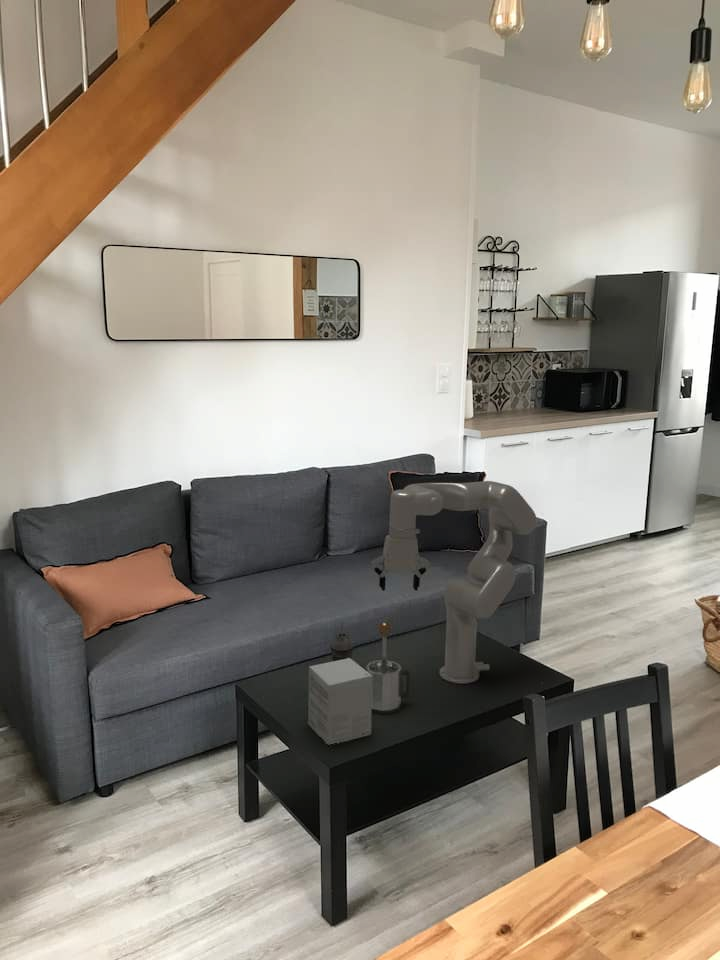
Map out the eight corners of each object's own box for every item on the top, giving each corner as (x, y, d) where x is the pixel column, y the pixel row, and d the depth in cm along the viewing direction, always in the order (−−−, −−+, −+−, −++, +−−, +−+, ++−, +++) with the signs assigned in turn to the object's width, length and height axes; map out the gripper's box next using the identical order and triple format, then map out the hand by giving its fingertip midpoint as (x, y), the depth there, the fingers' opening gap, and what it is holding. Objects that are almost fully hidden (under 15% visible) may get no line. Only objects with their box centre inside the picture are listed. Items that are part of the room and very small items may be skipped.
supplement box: (349, 714, 223) (350, 656, 219) (371, 735, 211) (373, 675, 208) (307, 724, 217) (307, 665, 213) (328, 746, 205) (328, 685, 202)
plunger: (393, 668, 230) (395, 616, 227) (399, 680, 223) (400, 626, 220) (368, 670, 229) (369, 617, 226) (372, 681, 222) (374, 627, 219)
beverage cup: (354, 677, 246) (355, 617, 242) (351, 687, 239) (352, 626, 235) (331, 675, 247) (332, 616, 243) (328, 686, 240) (329, 624, 236)
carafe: (404, 695, 234) (405, 658, 232) (412, 712, 224) (413, 673, 222) (362, 698, 232) (363, 660, 230) (368, 715, 222) (369, 676, 220)
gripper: (428, 529, 230) (425, 585, 233) (370, 529, 228) (368, 585, 231) (434, 536, 223) (430, 593, 226) (374, 535, 220) (371, 593, 223)
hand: (399, 589), depth 228 cm, fingers open, 9 cm apart
